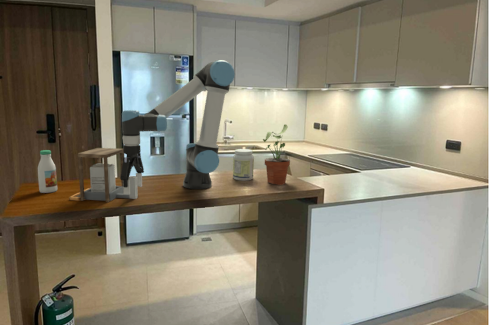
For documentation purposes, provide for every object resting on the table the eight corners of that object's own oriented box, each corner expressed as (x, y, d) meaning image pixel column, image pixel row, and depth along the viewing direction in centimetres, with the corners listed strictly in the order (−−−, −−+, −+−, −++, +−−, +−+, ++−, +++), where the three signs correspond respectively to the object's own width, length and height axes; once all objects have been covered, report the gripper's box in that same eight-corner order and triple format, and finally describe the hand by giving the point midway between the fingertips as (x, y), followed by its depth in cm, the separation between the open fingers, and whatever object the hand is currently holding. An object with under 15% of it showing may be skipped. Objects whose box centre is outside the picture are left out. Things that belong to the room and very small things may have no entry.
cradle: (142, 194, 172) (141, 174, 170) (130, 202, 159) (129, 180, 157) (98, 191, 174) (96, 171, 172) (83, 199, 161) (81, 177, 159)
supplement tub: (240, 175, 218) (241, 148, 215) (257, 178, 211) (258, 150, 208) (228, 178, 208) (228, 150, 205) (245, 182, 201) (246, 152, 198)
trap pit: (99, 190, 176) (99, 188, 176) (79, 200, 159) (79, 198, 159) (89, 190, 176) (89, 187, 176) (69, 199, 160) (68, 197, 160)
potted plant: (272, 178, 212) (274, 119, 206) (293, 182, 202) (297, 121, 196) (255, 182, 201) (257, 120, 194) (277, 187, 191) (280, 122, 184)
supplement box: (97, 193, 171) (95, 163, 168) (116, 193, 172) (115, 163, 169) (90, 199, 162) (89, 167, 159) (111, 199, 163) (109, 167, 160)
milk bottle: (39, 193, 168) (35, 152, 164) (39, 190, 175) (36, 149, 171) (57, 192, 171) (54, 151, 168) (57, 188, 178) (54, 149, 174)
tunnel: (125, 192, 175) (123, 148, 171) (108, 202, 158) (105, 154, 154) (100, 190, 176) (98, 147, 172) (80, 200, 159) (77, 153, 155)
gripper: (135, 141, 173) (136, 183, 177) (110, 148, 149) (112, 197, 153) (150, 141, 172) (151, 183, 176) (127, 149, 148) (129, 198, 152)
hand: (133, 190), depth 165 cm, fingers open, 13 cm apart
